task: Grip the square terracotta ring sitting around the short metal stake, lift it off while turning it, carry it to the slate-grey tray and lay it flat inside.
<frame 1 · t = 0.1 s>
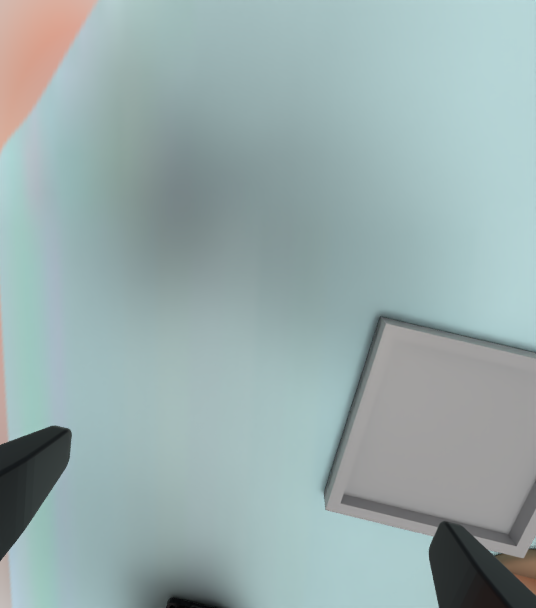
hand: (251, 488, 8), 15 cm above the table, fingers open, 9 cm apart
stake: (525, 603, 27), on the table
tray: (449, 435, 24), on the table
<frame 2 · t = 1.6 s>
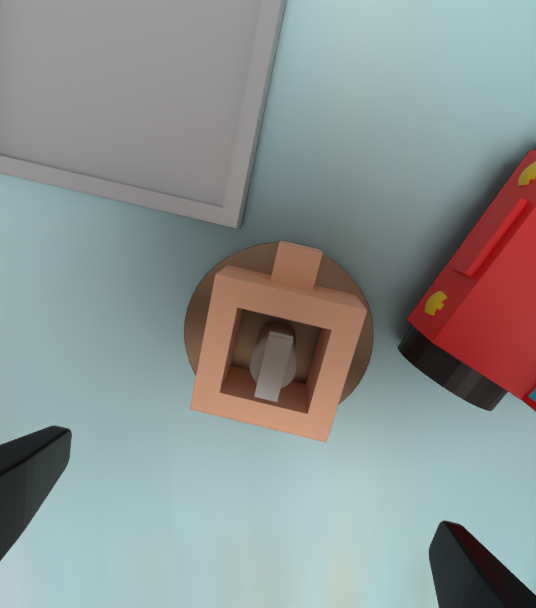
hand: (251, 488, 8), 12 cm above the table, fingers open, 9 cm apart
ring: (276, 339, 19), point 1 cm above the table, touching stake
stake: (277, 333, 20), on the table
tray: (130, 52, 17), on the table
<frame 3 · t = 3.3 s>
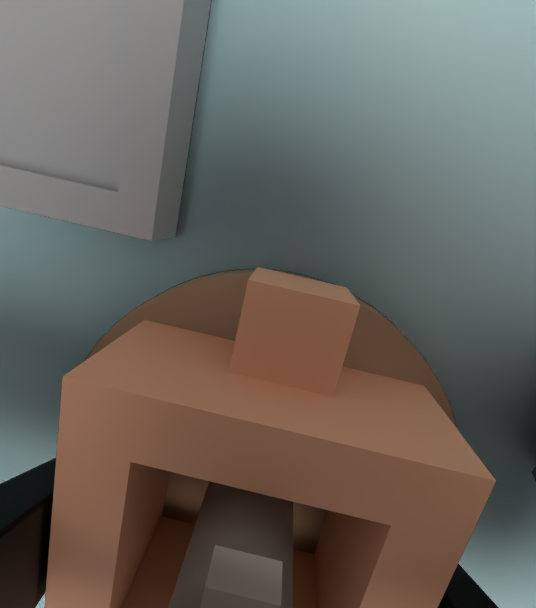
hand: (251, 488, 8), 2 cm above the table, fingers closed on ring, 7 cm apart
ring: (254, 470, 9), point 1 cm above the table, touching gripper, stake
stake: (258, 445, 10), on the table
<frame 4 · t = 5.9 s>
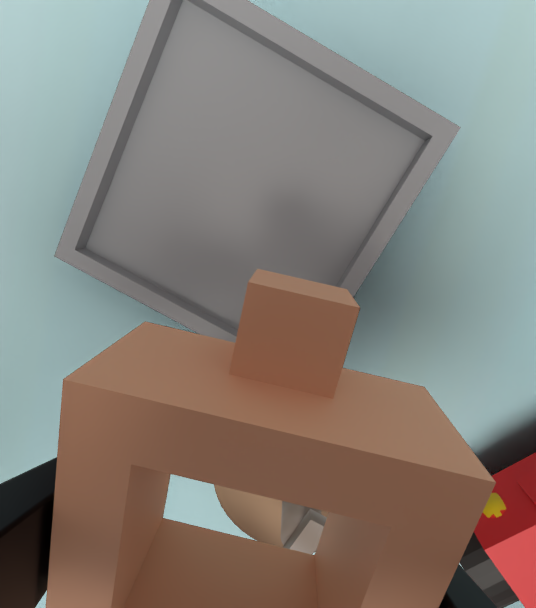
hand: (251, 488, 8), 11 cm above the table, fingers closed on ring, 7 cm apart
ring: (254, 472, 9), point 10 cm above the table, touching gripper
stake: (300, 469, 21), on the table
tray: (245, 198, 17), on the table
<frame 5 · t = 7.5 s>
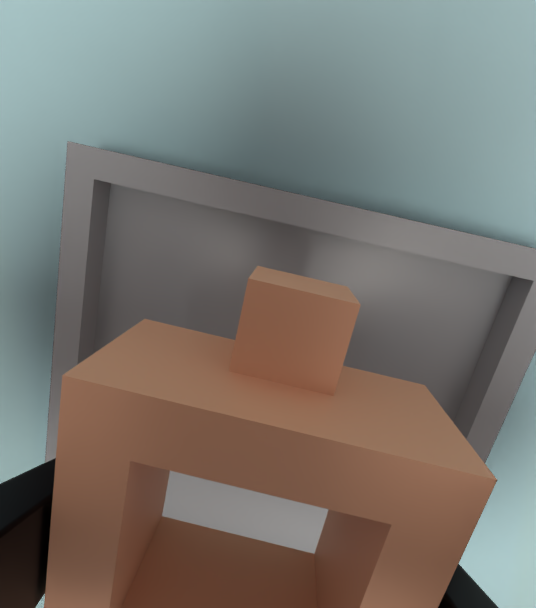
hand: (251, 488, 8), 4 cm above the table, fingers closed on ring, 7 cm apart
ring: (254, 470, 9), point 4 cm above the table, touching gripper
tray: (266, 398, 12), on the table
when the fingers open (3 cm above the table, at t = 8.7 s): ring drops 2 cm, resting on tray.
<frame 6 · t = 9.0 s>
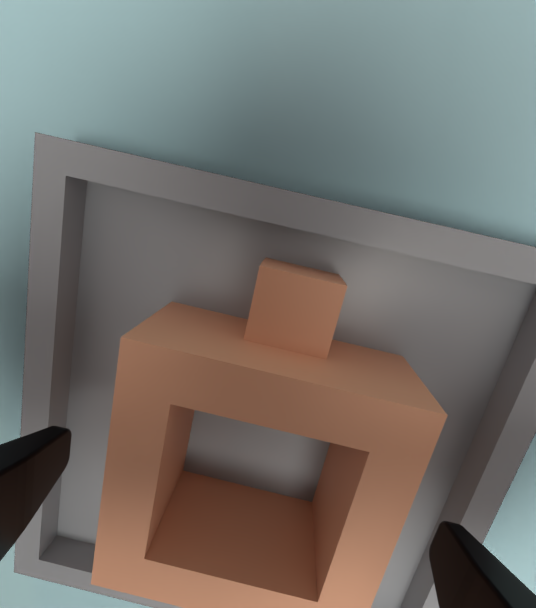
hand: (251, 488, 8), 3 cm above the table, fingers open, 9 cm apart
ring: (261, 429, 11), point 1 cm above the table, touching tray
tray: (263, 417, 11), on the table
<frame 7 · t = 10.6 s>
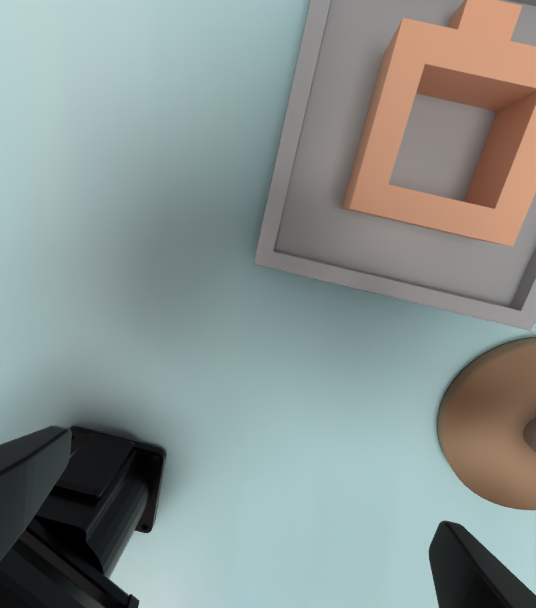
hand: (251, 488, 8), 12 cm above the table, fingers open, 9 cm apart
ring: (432, 151, 16), point 1 cm above the table, touching tray
stake: (531, 421, 20), on the table
tray: (428, 152, 17), on the table
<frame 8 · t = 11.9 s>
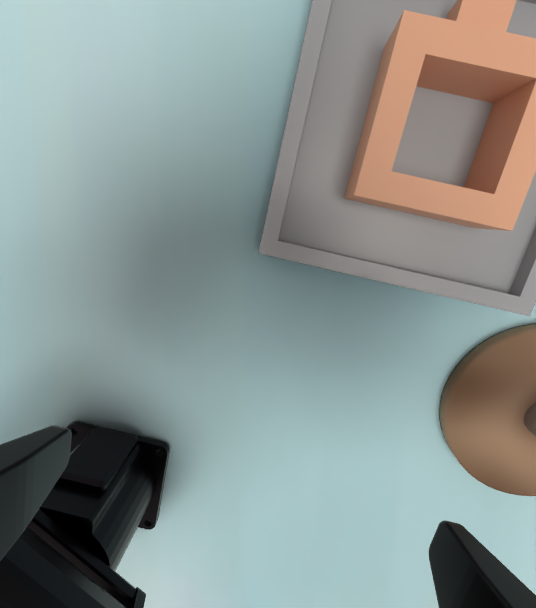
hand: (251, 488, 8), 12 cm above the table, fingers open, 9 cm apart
ring: (432, 142, 17), point 1 cm above the table, touching tray
stake: (531, 407, 20), on the table
tray: (427, 144, 17), on the table
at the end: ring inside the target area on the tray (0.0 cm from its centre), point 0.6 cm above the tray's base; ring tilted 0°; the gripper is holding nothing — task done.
